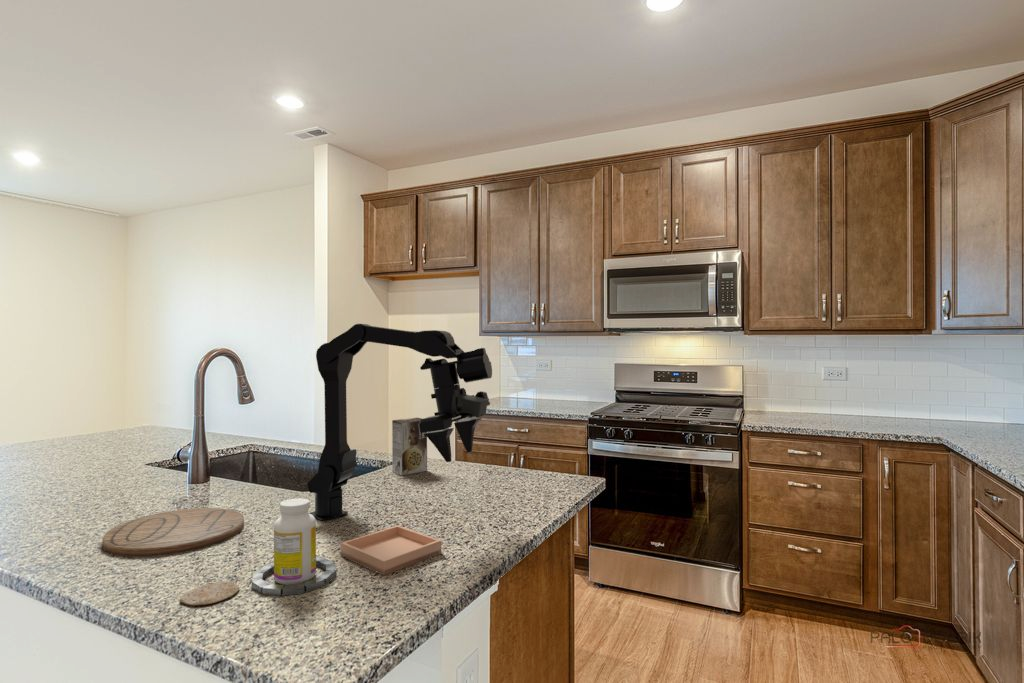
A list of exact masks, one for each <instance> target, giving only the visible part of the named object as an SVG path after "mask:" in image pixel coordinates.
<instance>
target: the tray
mask: <svg viewBox="0 0 1024 683" xmlns="http://www.w3.org/2000/svg"><path fill="white" fill-rule="evenodd" d="M440 554H442V540H441V539H439V538H435V537H432V536H431V535H430V536H429V535H427V534H424V533H422V532H418V531H415V530H413V529H409V528H407V527H405V526H401V525H394V526H392V527H388V528H384V529H382V530H379V531H375V532H372V533H368V534H366V535H362V536H359V537H356V538H353V539H349V540H346V541H343V542H340V556H341V557H342V556H343V558H344V557H346V558H345V559H347V558H348V559H347V560H349V559H350V560H349V561H351V560H352V561H351V562H353V561H354V563H355V562H357V563H356V564H358V563H359V564H358V565H360V564H361V565H360V566H362V565H363V567H364V566H365V567H364V568H367V567H368V568H367V569H369V568H370V569H369V570H371V569H372V570H371V571H373V570H374V571H373V572H375V571H377V572H376V573H378V572H379V573H378V574H379V575H382V574H383V576H386V575H389V574H391V573H394V572H397V571H399V570H401V569H404V568H406V567H410V566H412V565H414V564H417V563H420V562H422V561H425V560H427V559H430V558H433V557H435V556H437V555H440Z"/></svg>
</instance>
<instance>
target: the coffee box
mask: <svg viewBox="0 0 1024 683" xmlns="http://www.w3.org/2000/svg"><path fill="white" fill-rule="evenodd" d="M421 419H423V418H422V417H412V418H411V417H410V418H409V417H408V418H400V419H394V420H393V419H391V420H392V424H391V425H392V426H391V427H392V429H391V430H392V433H391V434H392V438H391V439H392V441H391V442H392V445H391V447H392V448H391V449H392V450H391V452H392V467H391V470H392V473H395V474H397V475H400V476H406V475H411V474H417V473H422V472H427V471H428V437H427V436H424V433H427V432H424V433H420V432H419V426H418V423H419V422H420V420H421Z"/></svg>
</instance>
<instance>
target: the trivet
mask: <svg viewBox="0 0 1024 683" xmlns="http://www.w3.org/2000/svg"><path fill="white" fill-rule="evenodd" d="M244 527H245V518H244V514H242V513H241V512H240V511H237V510H234V509H229V508H222V507H221V508H220V507H199V508H187V509H185V508H184V509H177V510H170V511H164V512H158V513H153V514H150V515H146V516H145V515H144V516H142V517H138V518H134V519H132V520H129V521H126V522H122V523H121V524H119V525H116V526H114V527H112V528H110V529H109V530H108V531H107V532H105V533H104V535H103V537H102V539H101V540H102V543H101V545H102V548H103V550H104V552H106V553H108V554H111V555H115V556H122V557H133V558H134V557H137V558H138V557H140V558H143V557H144V558H145V557H156V556H159V557H160V556H167V555H172V554H173V555H175V554H179V553H186V552H189V551H193V550H198V549H202V548H203V549H204V548H206V547H209V546H212V545H216V544H219V543H222V542H224V541H226V540H228V539H231V538H233V537H234V536H236V535H237V534H239V533H240V532H241V531H242V530H243V528H244Z"/></svg>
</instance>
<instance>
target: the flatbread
mask: <svg viewBox="0 0 1024 683" xmlns="http://www.w3.org/2000/svg"><path fill="white" fill-rule="evenodd" d="M239 590H240V587H239V585H237V584H235V583H234V582H231V581H226V582H225V581H224V582H223V581H222V582H221V581H220V582H217V581H216V582H208V583H205V584H202V585H201V586H197V587H195V588H193V589H190V590H189V591H186V592H185V593H184V594H183V595H182V596H181V598H179V603H181V604H184V605H188V606H192V607H193V606H206V605H210V604H214V603H218V602H221V601H225V600H226V599H229V598H231V597H233V596H235V595H236V594H237V593H238V592H239Z"/></svg>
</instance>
